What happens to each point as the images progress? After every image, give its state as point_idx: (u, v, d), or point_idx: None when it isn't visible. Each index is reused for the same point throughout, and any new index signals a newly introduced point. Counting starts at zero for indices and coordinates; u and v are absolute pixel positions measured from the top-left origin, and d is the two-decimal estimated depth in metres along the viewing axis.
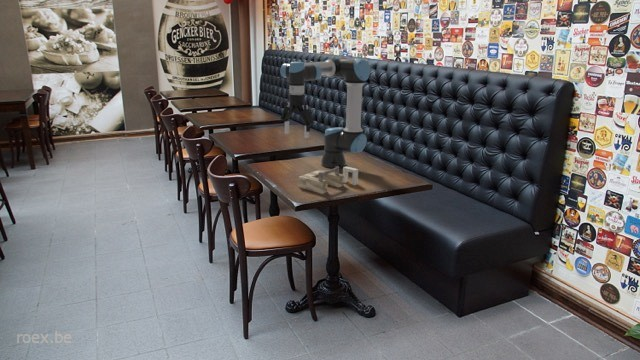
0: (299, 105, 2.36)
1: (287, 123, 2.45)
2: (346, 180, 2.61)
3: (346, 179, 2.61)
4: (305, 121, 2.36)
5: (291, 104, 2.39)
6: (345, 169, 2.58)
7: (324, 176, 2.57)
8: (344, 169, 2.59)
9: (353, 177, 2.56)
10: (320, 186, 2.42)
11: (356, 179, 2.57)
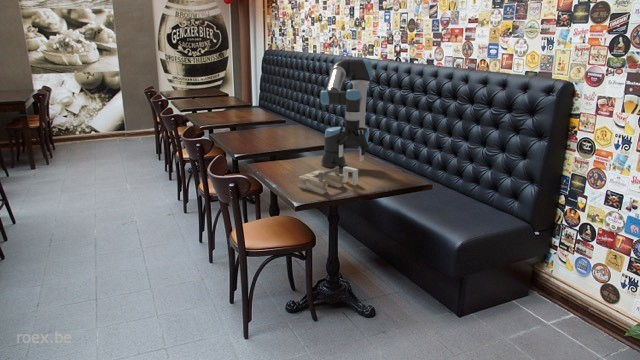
0: (355, 130, 2.49)
1: (341, 146, 2.58)
2: (346, 180, 2.61)
3: (346, 179, 2.61)
4: (360, 145, 2.48)
5: (346, 129, 2.52)
6: (345, 169, 2.58)
7: (324, 176, 2.57)
8: (344, 169, 2.59)
9: (353, 177, 2.56)
10: (320, 186, 2.42)
11: (356, 179, 2.57)
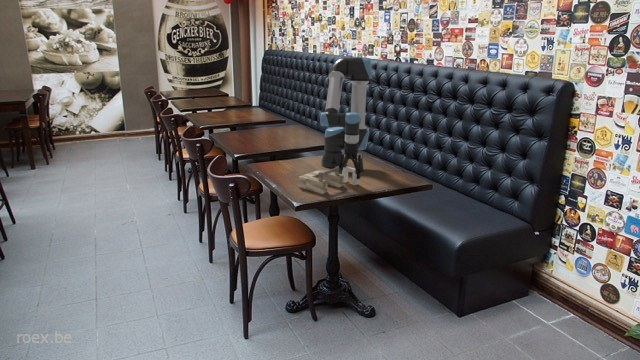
0: (354, 153, 2.52)
1: None
2: (346, 180, 2.61)
3: (346, 179, 2.61)
4: (356, 169, 2.54)
5: (345, 151, 2.56)
6: (345, 169, 2.58)
7: (324, 176, 2.57)
8: (344, 169, 2.58)
9: (353, 177, 2.56)
10: (320, 186, 2.42)
11: None
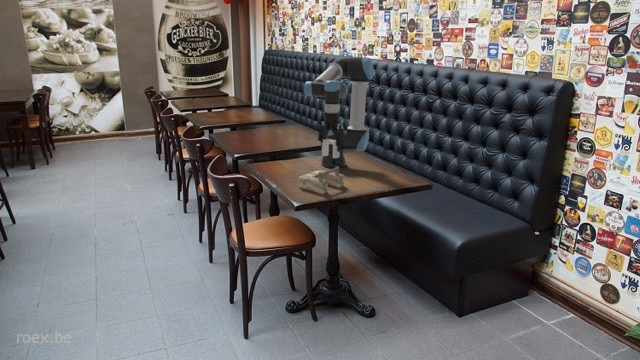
0: (334, 123, 2.38)
1: None
2: (326, 153, 2.47)
3: (326, 152, 2.47)
4: (337, 141, 2.39)
5: (325, 122, 2.41)
6: (325, 141, 2.44)
7: (324, 176, 2.57)
8: (324, 141, 2.44)
9: (333, 149, 2.41)
10: (320, 186, 2.42)
11: None
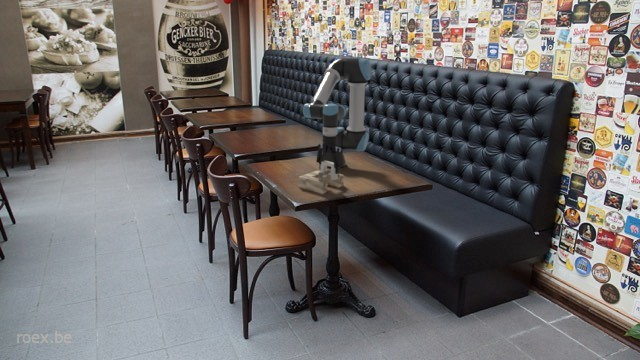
0: (332, 146, 2.41)
1: None
2: (325, 175, 2.50)
3: None
4: (335, 163, 2.43)
5: (324, 144, 2.45)
6: (323, 163, 2.47)
7: None
8: (322, 163, 2.47)
9: (332, 171, 2.45)
10: (320, 186, 2.42)
11: None
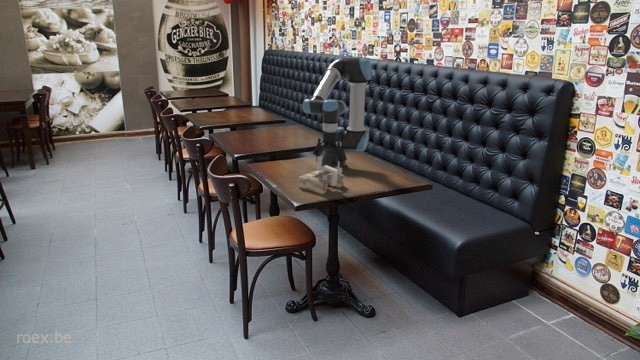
0: (332, 142, 2.41)
1: (319, 158, 2.50)
2: (325, 179, 2.51)
3: (325, 178, 2.51)
4: (338, 158, 2.41)
5: (324, 140, 2.44)
6: (325, 168, 2.47)
7: None
8: (323, 168, 2.48)
9: (332, 178, 2.45)
10: (320, 186, 2.42)
11: (335, 180, 2.47)
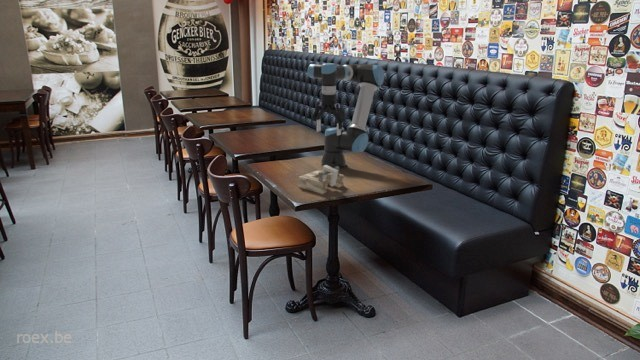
0: (331, 104, 2.50)
1: (319, 121, 2.60)
2: (324, 179, 2.51)
3: (324, 178, 2.51)
4: (337, 119, 2.50)
5: (323, 103, 2.53)
6: (325, 168, 2.47)
7: None
8: (324, 168, 2.48)
9: (332, 178, 2.46)
10: (320, 186, 2.42)
11: (335, 180, 2.47)
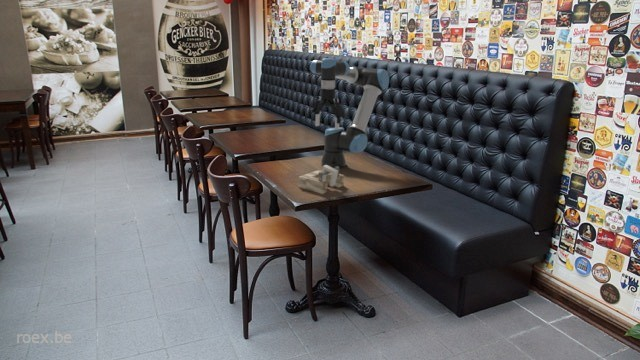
0: (330, 99, 2.53)
1: (318, 116, 2.63)
2: (324, 179, 2.51)
3: (324, 178, 2.51)
4: (336, 113, 2.53)
5: (322, 98, 2.56)
6: (325, 168, 2.47)
7: None
8: (324, 168, 2.48)
9: (331, 178, 2.46)
10: (320, 186, 2.42)
11: (334, 180, 2.47)
